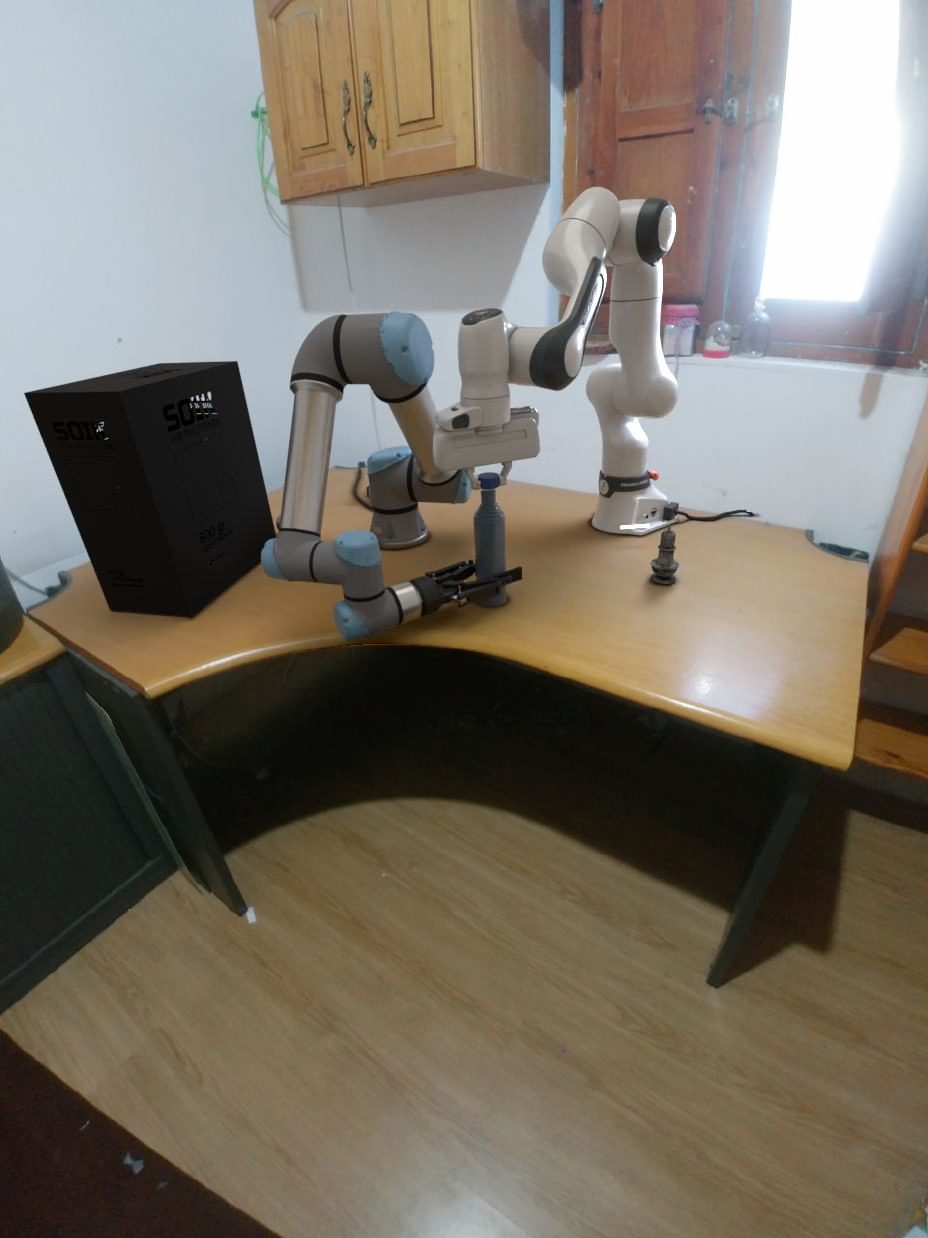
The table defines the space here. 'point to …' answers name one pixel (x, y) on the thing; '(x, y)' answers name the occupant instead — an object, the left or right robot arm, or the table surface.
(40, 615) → the table surface
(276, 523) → the eyeball
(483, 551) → the bottle
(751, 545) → the table surface
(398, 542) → the left robot arm
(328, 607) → the table surface
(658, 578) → the grey tapered ringed piece
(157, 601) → the cardboard box
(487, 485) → the cap
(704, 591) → the table surface
